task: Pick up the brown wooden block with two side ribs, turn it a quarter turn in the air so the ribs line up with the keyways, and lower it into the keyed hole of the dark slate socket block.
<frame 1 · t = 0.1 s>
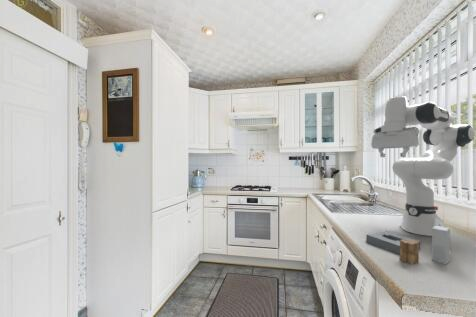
hand: (392, 157, 106), 39 cm above the counter, tool pointing down, fingers open, 8 cm apart
brown wooden block: (409, 260, 80), on the counter
slate socket block: (392, 245, 95), on the counter
skincare box: (440, 260, 81), on the counter
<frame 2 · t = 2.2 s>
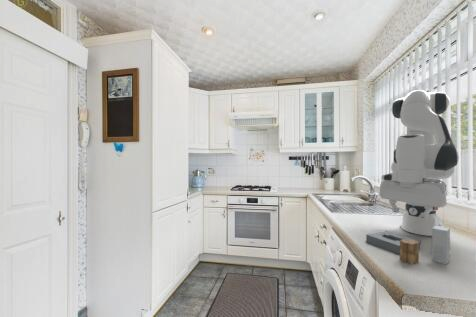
hand: (409, 215, 80), 17 cm above the counter, tool pointing down, fingers open, 8 cm apart
nothing on the counter moved.
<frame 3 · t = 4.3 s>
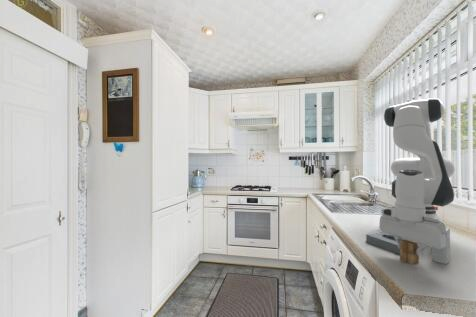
hand: (409, 251, 80), 3 cm above the counter, tool pointing down, fingers closed on brown wooden block, 4 cm apart
brown wooden block: (409, 260, 80), on the counter, touching gripper
everything else where it was.
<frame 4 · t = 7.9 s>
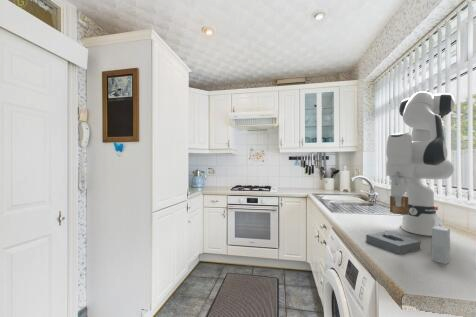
hand: (399, 205, 90), 18 cm above the counter, tool pointing down, fingers closed on brown wooden block, 4 cm apart
brown wooden block: (399, 213, 90), point 15 cm above the counter, touching gripper
everything else where it was.
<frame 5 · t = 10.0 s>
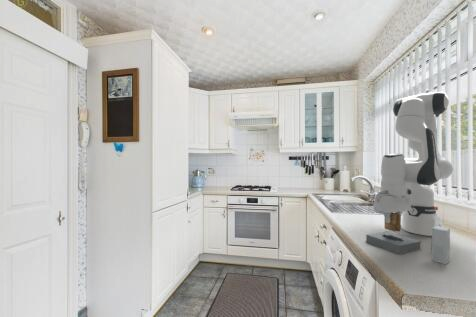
hand: (392, 222, 95), 10 cm above the counter, tool pointing down, fingers closed on brown wooden block, 4 cm apart
brown wooden block: (392, 229, 95), point 7 cm above the counter, touching gripper
everything else where it was.
when the fingers open (4 cm above the counter, at t = 11.6 s): brown wooden block drops 1 cm, resting in slate socket block.
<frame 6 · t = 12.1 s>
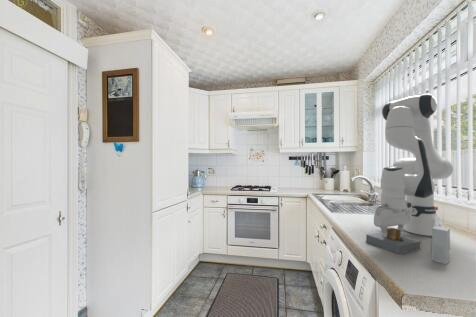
hand: (392, 235, 95), 4 cm above the counter, tool pointing down, fingers open, 8 cm apart
brown wooden block: (392, 245, 95), resting in slate socket block
everything else where it was.
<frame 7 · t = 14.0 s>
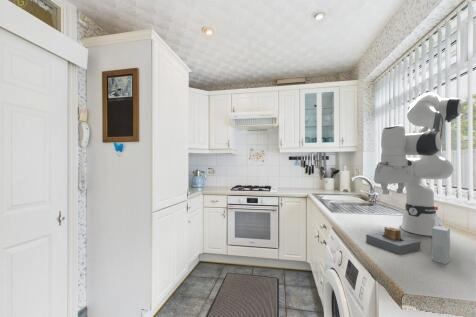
hand: (392, 193, 95), 22 cm above the counter, tool pointing down, fingers open, 8 cm apart
nothing on the counter moved.
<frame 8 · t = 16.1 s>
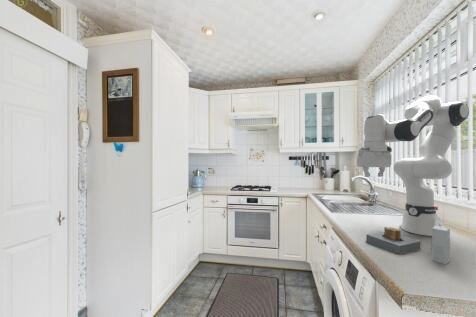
hand: (373, 176, 105), 29 cm above the counter, tool pointing down, fingers open, 8 cm apart
nothing on the counter moved.
at the end: brown wooden block 0.1 cm off-centre on the slate socket block, point 0.0 cm above the slate socket block's base; brown wooden block tilted 0°; the gripper is holding nothing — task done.
